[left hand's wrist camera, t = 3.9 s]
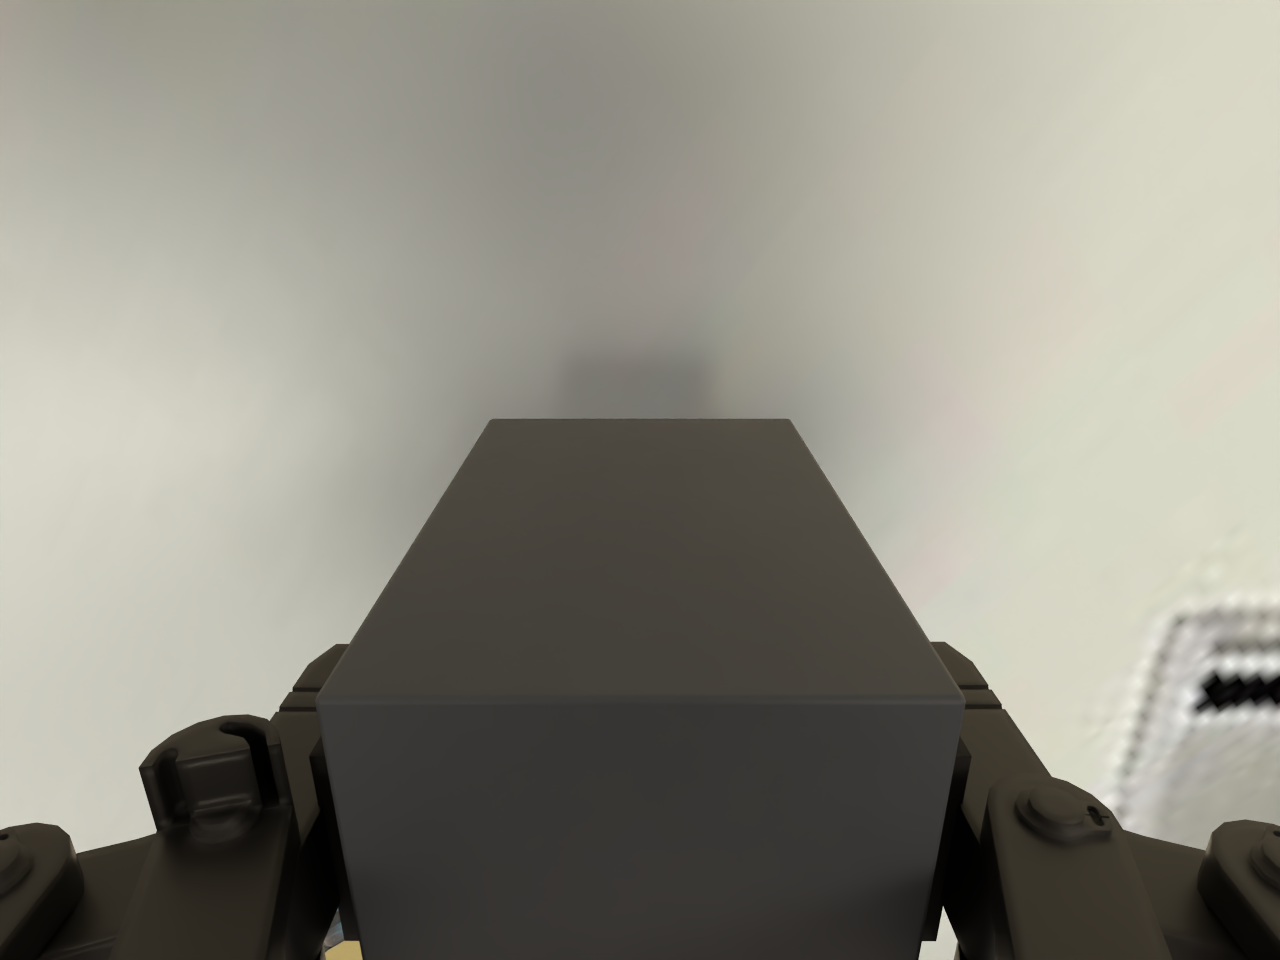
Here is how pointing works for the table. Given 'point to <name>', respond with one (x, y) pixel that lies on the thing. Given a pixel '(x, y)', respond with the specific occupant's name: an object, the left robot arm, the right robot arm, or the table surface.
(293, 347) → the table surface
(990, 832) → the left robot arm
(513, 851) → the bar
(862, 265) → the table surface
